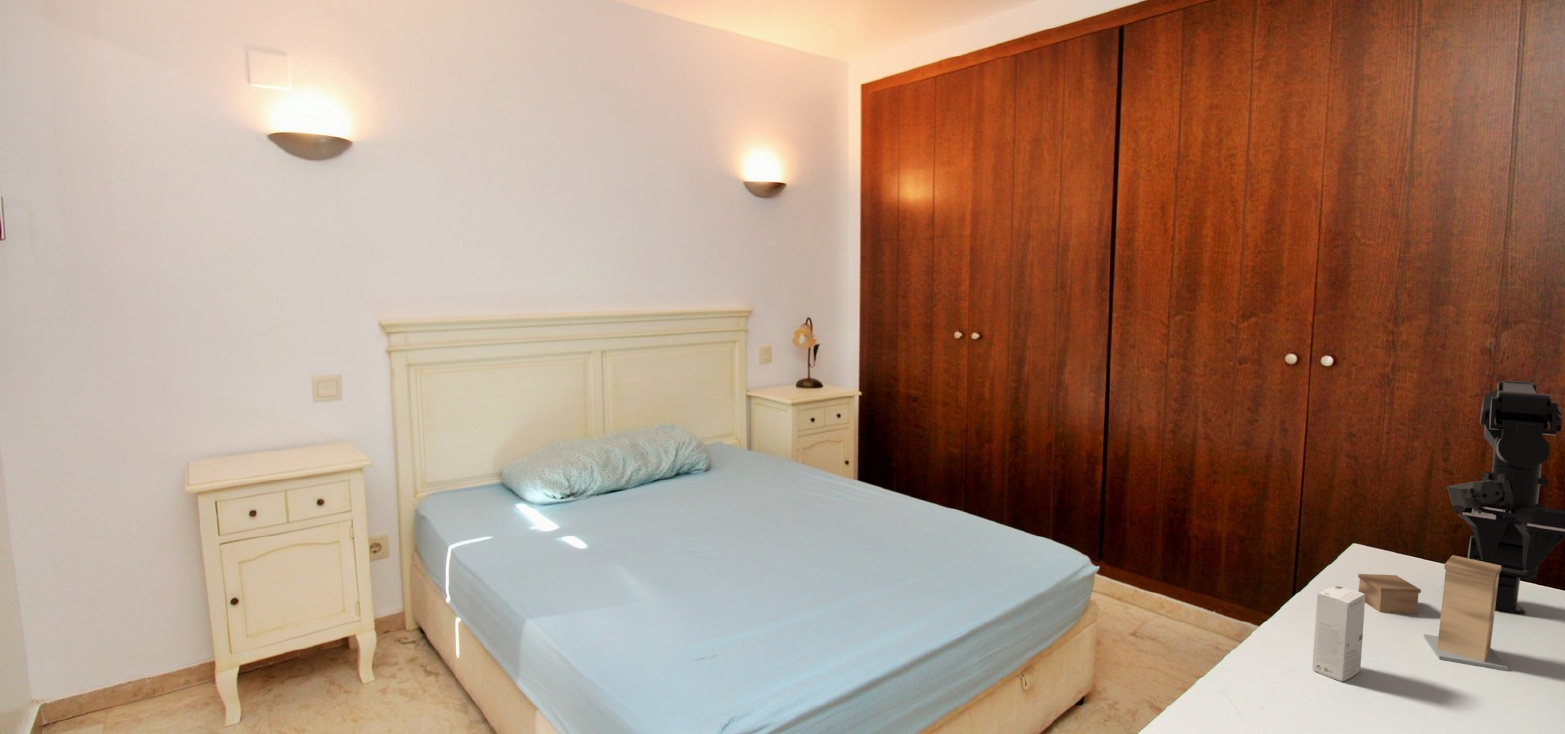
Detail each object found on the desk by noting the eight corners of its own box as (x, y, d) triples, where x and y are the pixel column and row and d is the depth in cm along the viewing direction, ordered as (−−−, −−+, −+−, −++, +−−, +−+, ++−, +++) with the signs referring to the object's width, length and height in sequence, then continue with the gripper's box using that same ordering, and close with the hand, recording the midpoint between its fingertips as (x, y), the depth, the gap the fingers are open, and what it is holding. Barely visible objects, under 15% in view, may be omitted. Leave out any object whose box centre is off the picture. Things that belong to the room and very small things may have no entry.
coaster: (1423, 636, 125) (1424, 634, 125) (1487, 647, 122) (1487, 644, 122) (1439, 659, 118) (1439, 655, 118) (1507, 670, 115) (1507, 667, 115)
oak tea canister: (1443, 636, 124) (1452, 555, 123) (1491, 650, 120) (1501, 565, 118) (1435, 648, 121) (1444, 564, 119) (1485, 662, 116) (1495, 575, 115)
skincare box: (1343, 683, 112) (1351, 603, 110) (1309, 670, 115) (1315, 592, 114) (1361, 671, 115) (1369, 593, 113) (1327, 658, 119) (1334, 583, 117)
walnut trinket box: (1356, 597, 141) (1358, 573, 140) (1393, 599, 140) (1396, 575, 140) (1378, 613, 135) (1381, 588, 134) (1418, 614, 134) (1421, 589, 133)
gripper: (1423, 458, 135) (1413, 547, 134) (1502, 464, 117) (1491, 567, 116) (1495, 468, 133) (1486, 558, 132) (1587, 476, 115) (1577, 581, 114)
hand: (1506, 565), depth 124 cm, fingers open, 9 cm apart
